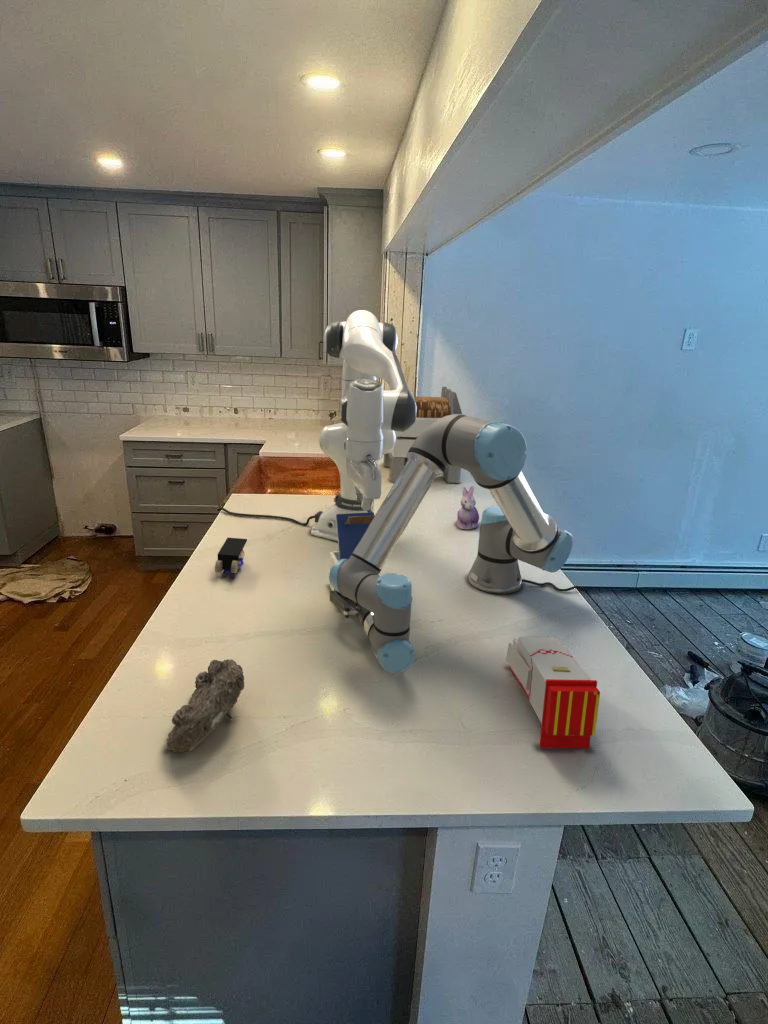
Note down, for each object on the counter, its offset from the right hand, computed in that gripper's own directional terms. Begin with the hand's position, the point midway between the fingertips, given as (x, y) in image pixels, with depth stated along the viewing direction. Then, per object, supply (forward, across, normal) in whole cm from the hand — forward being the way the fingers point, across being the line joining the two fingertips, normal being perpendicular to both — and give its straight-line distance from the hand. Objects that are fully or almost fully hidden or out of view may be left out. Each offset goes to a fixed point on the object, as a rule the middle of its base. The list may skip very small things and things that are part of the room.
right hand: (356, 579), depth 150 cm
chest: (+4, 0, -7) cm, 8 cm away
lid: (+1, 0, +10) cm, 10 cm away
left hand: (-4, 0, +22) cm, 22 cm away
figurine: (+48, +54, -7) cm, 73 cm away
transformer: (+118, +60, -7) cm, 133 cm away
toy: (-48, +28, -7) cm, 56 cm away
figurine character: (+27, -31, -7) cm, 42 cm away
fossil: (-38, -37, -7) cm, 53 cm away
